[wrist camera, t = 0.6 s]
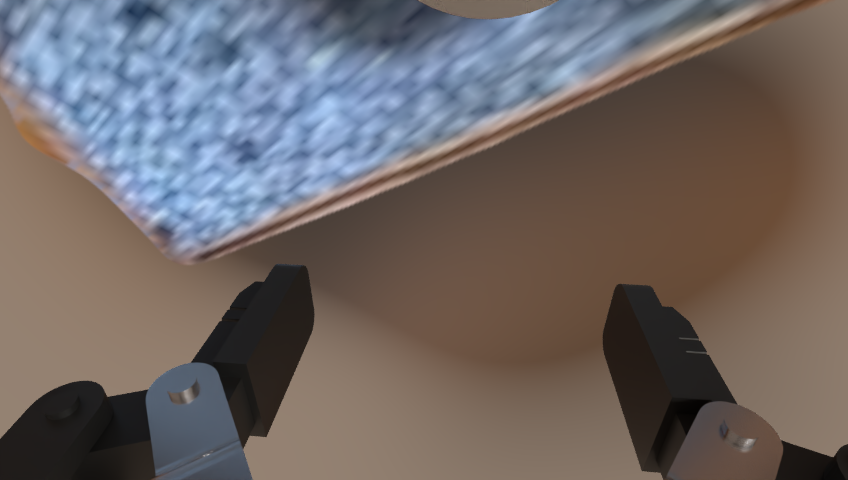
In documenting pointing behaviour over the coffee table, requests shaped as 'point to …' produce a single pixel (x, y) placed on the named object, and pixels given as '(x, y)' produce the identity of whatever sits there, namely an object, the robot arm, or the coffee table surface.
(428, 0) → the biscuit tin
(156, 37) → the coffee table surface
